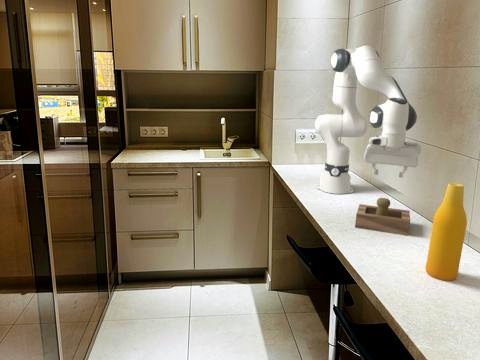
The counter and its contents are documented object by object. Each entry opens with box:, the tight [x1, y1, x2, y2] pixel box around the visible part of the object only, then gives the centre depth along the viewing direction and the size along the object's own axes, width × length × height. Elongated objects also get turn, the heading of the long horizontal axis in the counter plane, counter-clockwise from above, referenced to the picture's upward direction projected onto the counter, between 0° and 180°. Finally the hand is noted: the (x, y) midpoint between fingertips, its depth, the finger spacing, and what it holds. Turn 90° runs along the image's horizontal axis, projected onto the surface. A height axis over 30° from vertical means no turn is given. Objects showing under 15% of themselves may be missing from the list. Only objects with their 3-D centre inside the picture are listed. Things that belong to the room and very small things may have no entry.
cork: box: [375, 197, 391, 216], centre depth 178 cm, size 6×6×11 cm
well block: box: [354, 203, 411, 236], centre depth 179 cm, size 15×20×6 cm
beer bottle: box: [425, 182, 468, 281], centre depth 134 cm, size 9×9×29 cm
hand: (388, 175), depth 174 cm, fingers open, 8 cm apart
